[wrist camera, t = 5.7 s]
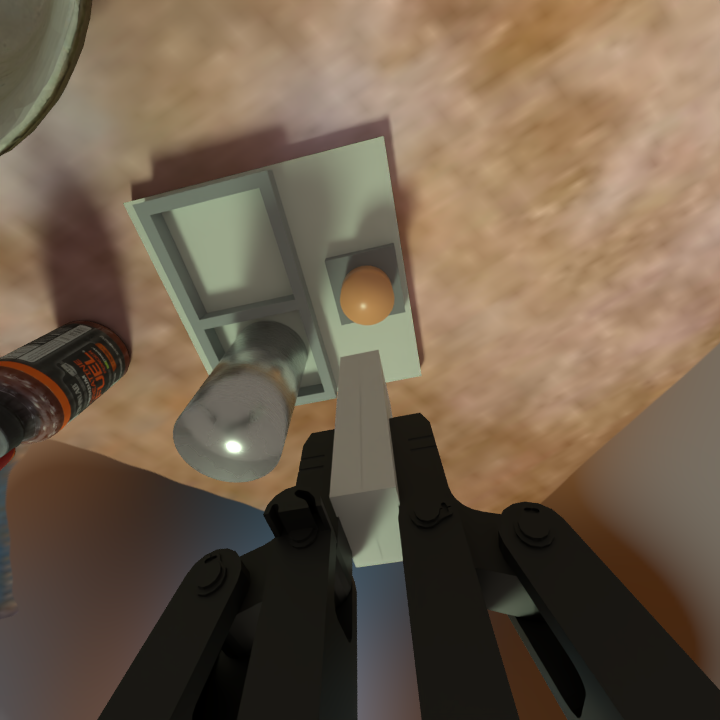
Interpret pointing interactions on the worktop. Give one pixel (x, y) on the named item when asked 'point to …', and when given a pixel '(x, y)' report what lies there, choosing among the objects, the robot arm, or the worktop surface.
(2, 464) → the paper cup
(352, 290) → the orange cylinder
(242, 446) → the cylinder
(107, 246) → the worktop surface
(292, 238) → the pale green compartment tray
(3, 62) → the bowl
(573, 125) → the worktop surface
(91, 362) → the supplement bottle
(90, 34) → the worktop surface
